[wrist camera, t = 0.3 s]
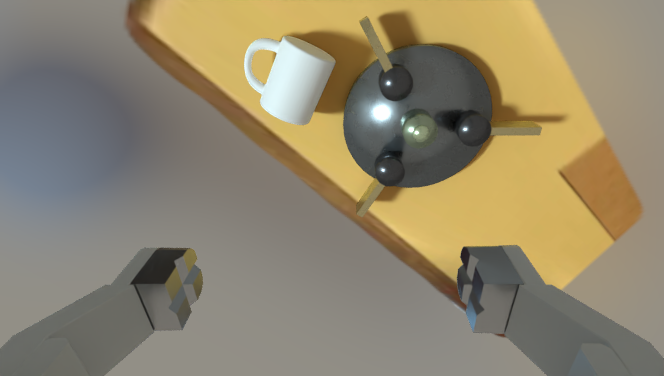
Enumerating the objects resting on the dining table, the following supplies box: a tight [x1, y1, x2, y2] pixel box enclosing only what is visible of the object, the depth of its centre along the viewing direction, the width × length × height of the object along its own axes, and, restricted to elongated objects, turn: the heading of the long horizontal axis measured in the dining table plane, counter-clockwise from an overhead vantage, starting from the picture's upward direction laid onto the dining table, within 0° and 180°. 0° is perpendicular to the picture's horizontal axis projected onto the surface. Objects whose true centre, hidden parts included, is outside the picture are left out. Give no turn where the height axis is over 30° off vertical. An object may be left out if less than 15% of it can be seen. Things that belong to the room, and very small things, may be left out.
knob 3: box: [453, 110, 542, 147], centre depth 52 cm, size 12×5×3 cm, turn 91°
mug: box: [244, 36, 336, 125], centre depth 50 cm, size 12×10×8 cm
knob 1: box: [359, 16, 413, 101], centre depth 48 cm, size 12×5×3 cm, turn 31°
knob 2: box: [356, 152, 405, 217], centre depth 58 cm, size 12×5×3 cm, turn 151°
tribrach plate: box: [343, 44, 492, 188], centre depth 53 cm, size 23×23×7 cm
